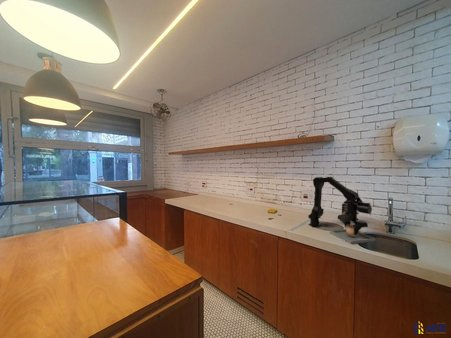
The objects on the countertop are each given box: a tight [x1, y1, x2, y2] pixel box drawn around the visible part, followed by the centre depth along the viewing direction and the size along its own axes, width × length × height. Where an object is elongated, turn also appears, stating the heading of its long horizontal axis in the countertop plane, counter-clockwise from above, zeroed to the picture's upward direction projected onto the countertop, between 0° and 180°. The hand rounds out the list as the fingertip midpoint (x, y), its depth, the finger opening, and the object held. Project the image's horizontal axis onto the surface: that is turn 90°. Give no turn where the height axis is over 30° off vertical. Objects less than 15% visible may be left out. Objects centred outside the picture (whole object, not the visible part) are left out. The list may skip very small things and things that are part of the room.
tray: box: [329, 228, 376, 245], centre depth 125 cm, size 18×18×2 cm
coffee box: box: [341, 202, 355, 225], centre depth 153 cm, size 9×6×16 cm
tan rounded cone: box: [345, 225, 357, 237], centre depth 125 cm, size 6×6×6 cm
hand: (351, 233), depth 125 cm, fingers closed on tan rounded cone, 6 cm apart
